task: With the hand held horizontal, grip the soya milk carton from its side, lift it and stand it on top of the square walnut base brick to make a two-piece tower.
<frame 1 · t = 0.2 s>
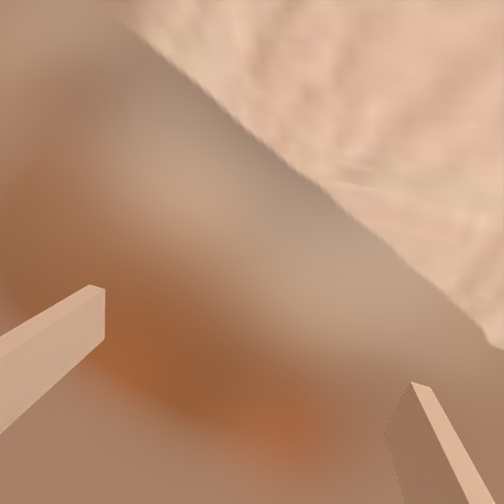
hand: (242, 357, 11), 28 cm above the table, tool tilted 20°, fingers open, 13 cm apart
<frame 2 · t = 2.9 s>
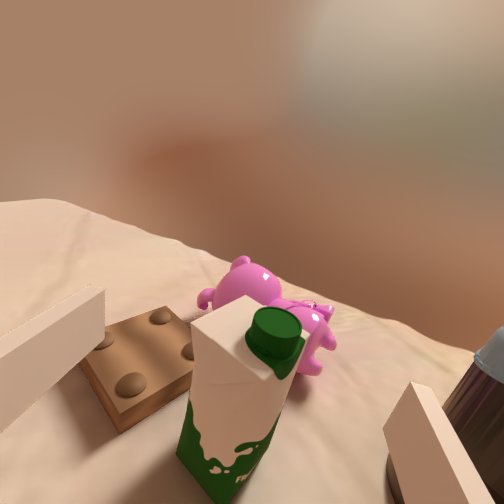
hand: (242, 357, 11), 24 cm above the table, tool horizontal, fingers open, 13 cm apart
base brick: (147, 367, 39), on the table
soya milk: (220, 455, 30), on the table
toy character: (258, 337, 49), on the table
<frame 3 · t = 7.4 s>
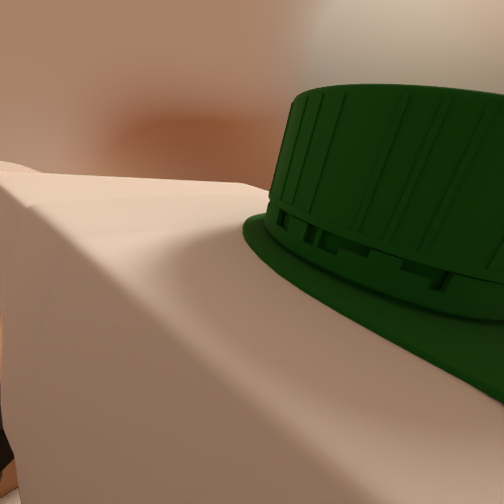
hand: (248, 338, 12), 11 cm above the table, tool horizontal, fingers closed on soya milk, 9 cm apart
base brick: (60, 373, 21), on the table
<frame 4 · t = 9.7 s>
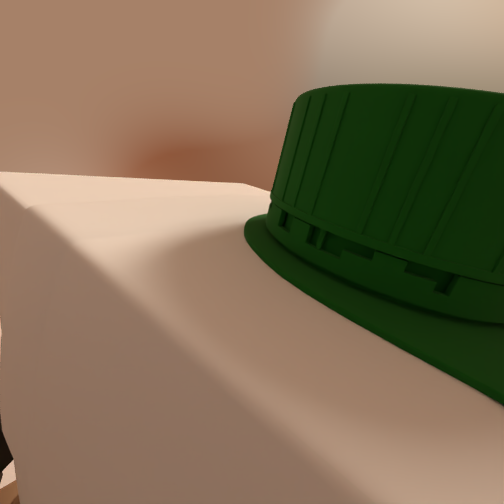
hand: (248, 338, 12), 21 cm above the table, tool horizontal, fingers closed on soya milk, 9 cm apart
when the fingers open (16 cm above the table, at t = 11.8 s): soya milk drops 1 cm, point 4 cm above the table.
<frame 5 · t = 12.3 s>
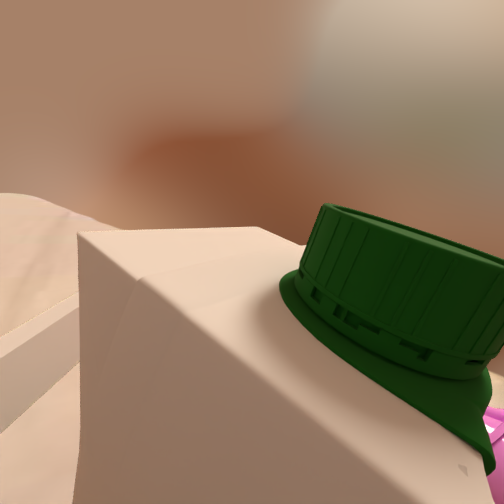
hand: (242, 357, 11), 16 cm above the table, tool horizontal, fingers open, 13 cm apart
toy character: (376, 459, 25), on the table
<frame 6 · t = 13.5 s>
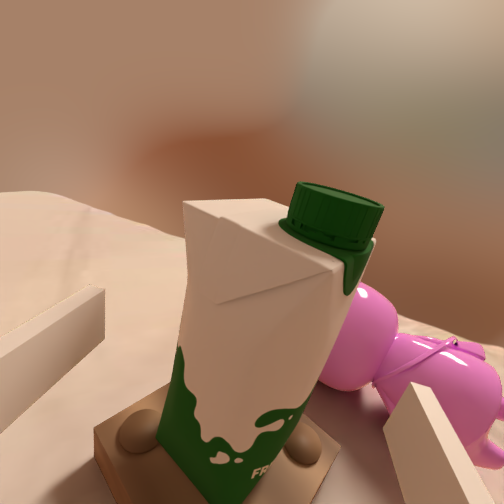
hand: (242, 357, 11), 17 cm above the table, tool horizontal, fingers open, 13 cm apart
base brick: (217, 468, 22), on the table, touching soya milk
soya milk: (220, 439, 20), point 4 cm above the table, touching base brick
toy character: (357, 386, 34), on the table
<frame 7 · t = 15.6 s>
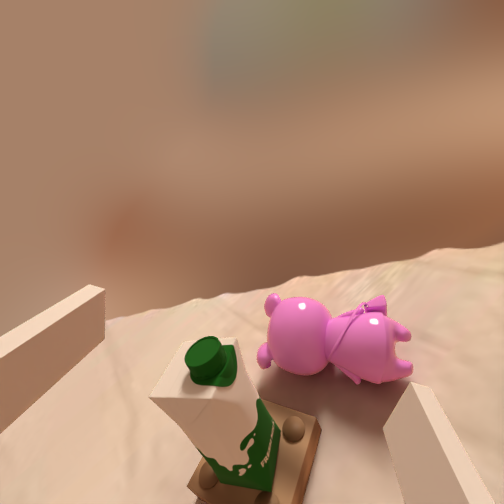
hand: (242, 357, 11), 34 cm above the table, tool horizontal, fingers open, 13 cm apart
base brick: (262, 464, 38), on the table, touching soya milk
soya milk: (252, 456, 35), point 4 cm above the table, touching base brick
toy character: (331, 358, 48), on the table
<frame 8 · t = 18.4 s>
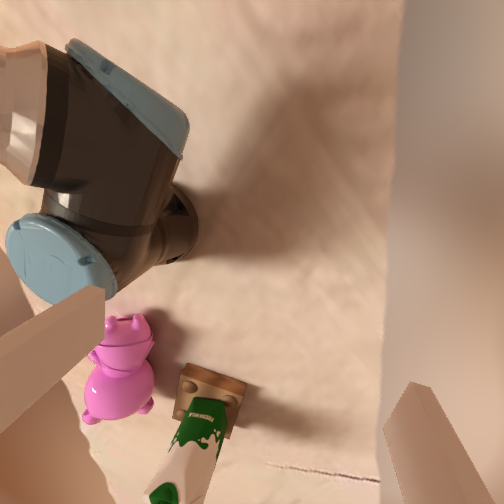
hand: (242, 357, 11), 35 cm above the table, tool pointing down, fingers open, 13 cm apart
base brick: (211, 392, 61), on the table, touching soya milk
soya milk: (211, 410, 57), point 3 cm above the table, touching base brick
toy character: (136, 349, 60), on the table
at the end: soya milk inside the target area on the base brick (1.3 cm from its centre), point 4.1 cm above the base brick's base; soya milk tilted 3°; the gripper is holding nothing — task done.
